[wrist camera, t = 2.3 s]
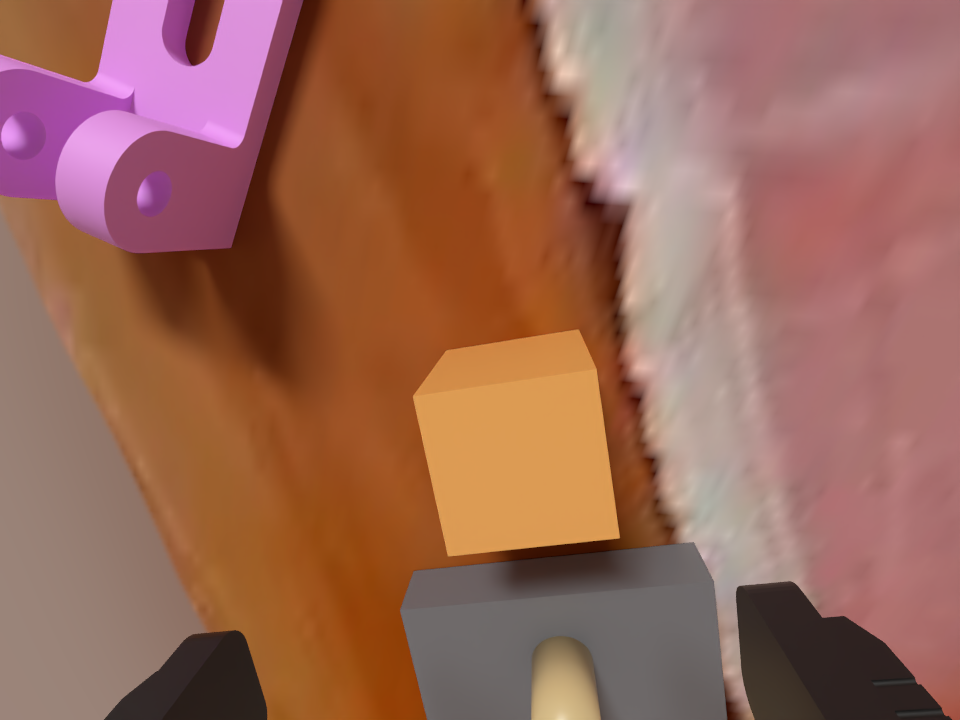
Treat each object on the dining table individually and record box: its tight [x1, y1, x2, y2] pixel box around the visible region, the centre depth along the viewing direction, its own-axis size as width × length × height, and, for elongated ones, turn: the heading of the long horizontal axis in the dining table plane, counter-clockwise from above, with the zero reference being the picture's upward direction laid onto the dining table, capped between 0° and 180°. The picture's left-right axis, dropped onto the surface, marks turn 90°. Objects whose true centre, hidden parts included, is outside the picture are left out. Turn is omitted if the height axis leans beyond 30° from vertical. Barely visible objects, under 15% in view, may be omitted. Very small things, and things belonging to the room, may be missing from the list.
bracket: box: [0, 0, 303, 253], centre depth 16 cm, size 13×6×7 cm, turn 157°
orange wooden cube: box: [413, 329, 620, 556], centre depth 18 cm, size 5×5×6 cm
